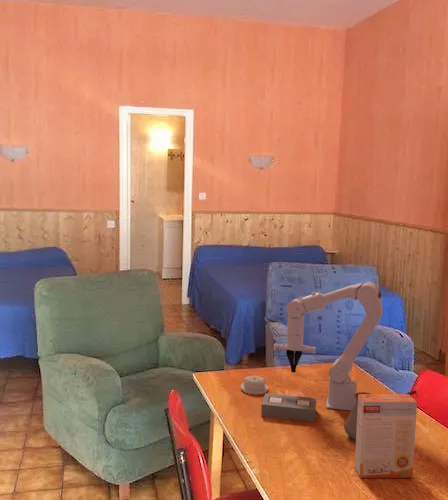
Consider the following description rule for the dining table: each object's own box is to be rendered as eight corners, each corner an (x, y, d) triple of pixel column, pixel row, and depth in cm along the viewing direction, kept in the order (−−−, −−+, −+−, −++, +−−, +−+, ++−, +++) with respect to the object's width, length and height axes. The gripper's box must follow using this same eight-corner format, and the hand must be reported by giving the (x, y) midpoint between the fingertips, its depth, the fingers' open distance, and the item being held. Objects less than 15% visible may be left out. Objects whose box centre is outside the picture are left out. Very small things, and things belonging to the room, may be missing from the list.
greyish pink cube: (281, 408, 189) (282, 398, 189) (280, 413, 185) (281, 402, 185) (269, 407, 190) (270, 397, 189) (268, 412, 186) (269, 401, 185)
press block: (315, 409, 190) (316, 398, 189) (314, 422, 180) (315, 410, 180) (265, 404, 193) (265, 393, 193) (261, 416, 183) (261, 404, 183)
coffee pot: (347, 445, 165) (350, 395, 163) (340, 428, 176) (342, 381, 174) (421, 448, 165) (425, 398, 163) (409, 430, 176) (412, 384, 174)
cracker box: (404, 467, 153) (410, 393, 150) (412, 479, 147) (418, 402, 144) (353, 467, 153) (357, 392, 150) (359, 478, 147) (364, 401, 144)
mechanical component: (240, 394, 202) (268, 396, 201) (240, 383, 201) (269, 384, 201) (240, 384, 211) (267, 385, 211) (240, 373, 211) (267, 374, 211)
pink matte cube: (309, 411, 187) (309, 401, 187) (308, 416, 183) (309, 405, 183) (297, 410, 188) (297, 399, 188) (296, 415, 184) (296, 404, 184)
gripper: (316, 332, 200) (314, 369, 202) (275, 329, 203) (274, 365, 204) (316, 337, 193) (314, 376, 195) (273, 334, 196) (271, 372, 197)
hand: (293, 371), depth 199 cm, fingers closed
